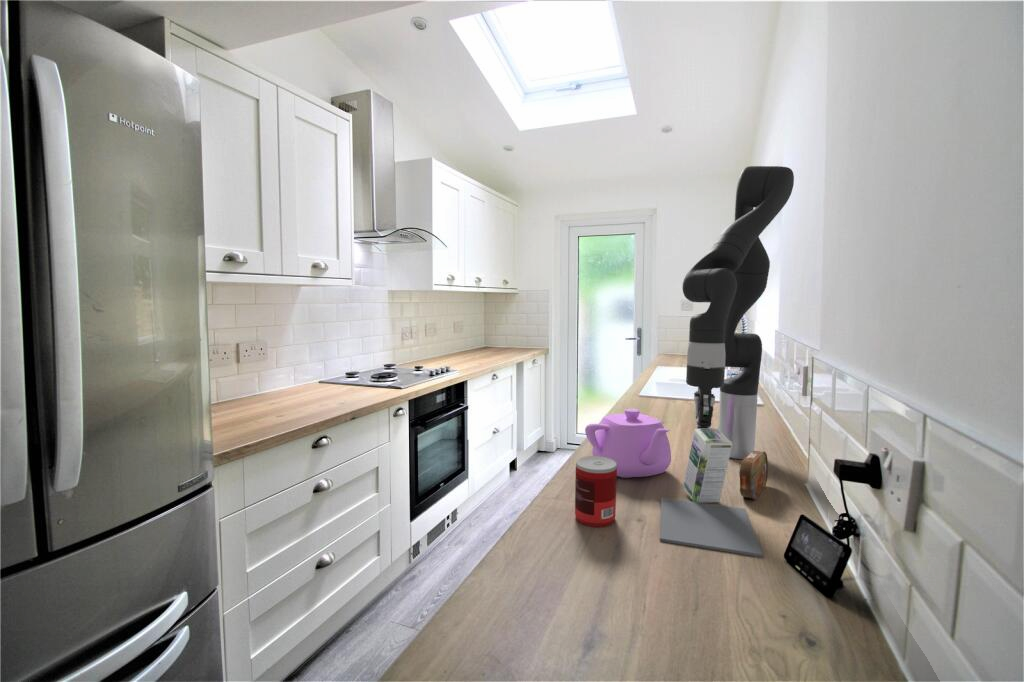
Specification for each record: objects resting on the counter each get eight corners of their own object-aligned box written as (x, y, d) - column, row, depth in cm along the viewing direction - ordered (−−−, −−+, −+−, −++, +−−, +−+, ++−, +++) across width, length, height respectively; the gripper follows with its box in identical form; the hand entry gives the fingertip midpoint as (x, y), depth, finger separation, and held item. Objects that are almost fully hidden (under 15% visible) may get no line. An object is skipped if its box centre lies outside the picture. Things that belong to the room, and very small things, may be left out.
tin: (751, 505, 97) (754, 465, 96) (735, 501, 99) (737, 462, 98) (768, 484, 108) (770, 448, 108) (753, 480, 111) (755, 445, 110)
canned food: (617, 512, 93) (619, 458, 92) (612, 531, 85) (614, 472, 85) (579, 506, 95) (580, 453, 95) (570, 524, 88) (572, 466, 87)
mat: (661, 499, 99) (661, 497, 99) (745, 510, 94) (745, 508, 94) (659, 540, 82) (660, 538, 82) (762, 557, 77) (762, 554, 77)
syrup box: (682, 486, 103) (692, 427, 98) (708, 485, 103) (719, 427, 98) (693, 503, 97) (705, 442, 93) (721, 503, 98) (733, 442, 93)
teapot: (570, 463, 121) (571, 405, 120) (642, 455, 127) (643, 400, 126) (615, 498, 100) (617, 428, 98) (698, 487, 106) (701, 422, 104)
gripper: (685, 359, 107) (682, 433, 109) (688, 366, 95) (684, 450, 96) (721, 360, 105) (718, 437, 107) (728, 368, 93) (724, 454, 94)
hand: (702, 443), depth 101 cm, fingers closed
